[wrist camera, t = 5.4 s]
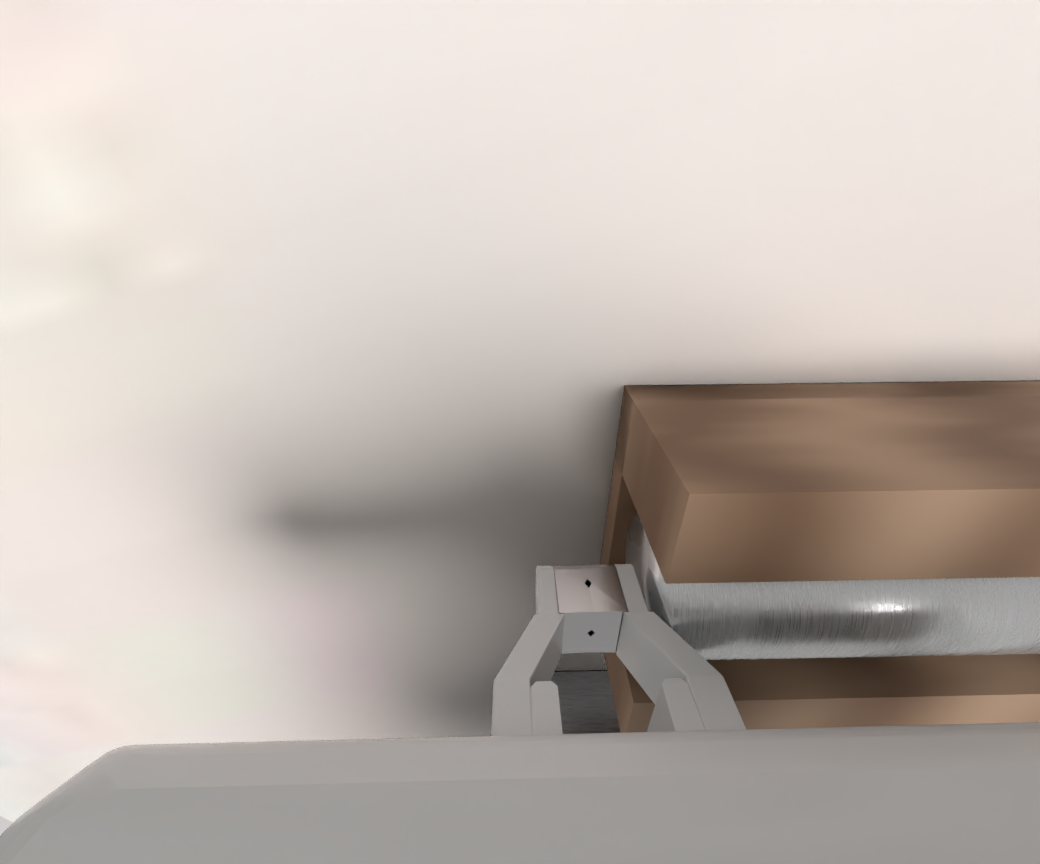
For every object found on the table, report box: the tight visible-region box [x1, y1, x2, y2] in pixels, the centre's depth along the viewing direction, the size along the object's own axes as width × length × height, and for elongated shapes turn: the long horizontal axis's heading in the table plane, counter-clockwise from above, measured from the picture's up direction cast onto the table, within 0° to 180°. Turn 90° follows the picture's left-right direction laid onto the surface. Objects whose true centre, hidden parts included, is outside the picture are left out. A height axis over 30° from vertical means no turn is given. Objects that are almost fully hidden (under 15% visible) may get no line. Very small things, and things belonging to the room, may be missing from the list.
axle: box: [626, 513, 1040, 660], centre depth 12 cm, size 16×4×4 cm, turn 90°
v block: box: [551, 671, 620, 734], centre depth 20 cm, size 14×10×4 cm
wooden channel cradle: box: [600, 381, 1040, 733], centre depth 12 cm, size 16×10×5 cm, turn 90°
